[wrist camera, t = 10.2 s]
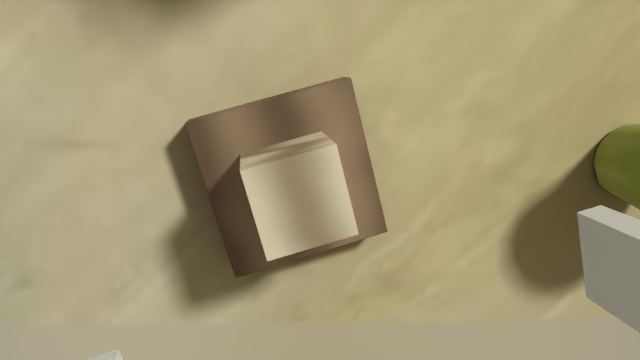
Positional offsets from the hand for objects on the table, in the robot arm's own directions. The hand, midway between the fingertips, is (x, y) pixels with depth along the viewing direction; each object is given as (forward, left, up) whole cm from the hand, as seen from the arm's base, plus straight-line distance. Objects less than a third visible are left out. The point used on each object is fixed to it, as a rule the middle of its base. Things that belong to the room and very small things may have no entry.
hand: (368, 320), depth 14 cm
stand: (0, -1, -26) cm, 26 cm away
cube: (0, -1, -23) cm, 23 cm away
